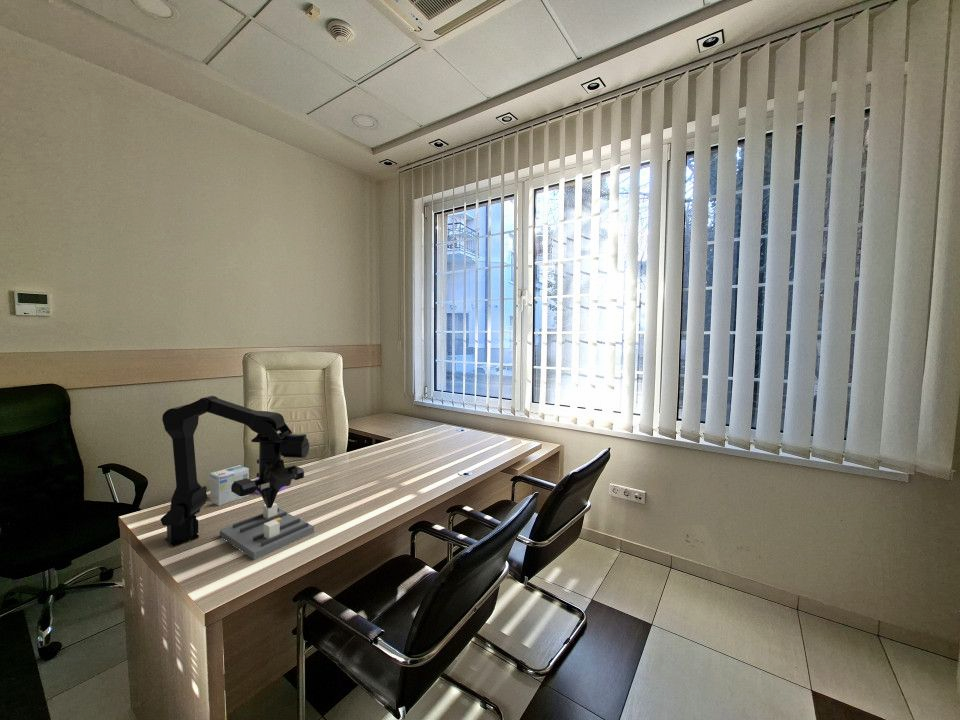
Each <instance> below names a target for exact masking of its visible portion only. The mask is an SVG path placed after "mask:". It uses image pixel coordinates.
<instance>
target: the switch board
mask: <svg viewBox="0 0 960 720" xmlns="http://www.w3.org/2000/svg"><path fill="white" fill-rule="evenodd" d="M272 520H276V521H277V522H279V523H280V534H279V535H276V536H274V537H272V538H269V539H266V538H265V537H264V523H267V522H269V521H272ZM313 533H315V526H314V525H313V524H310V523H309V522H306V521H304V520H302V519H301V518H299V517H296V516H295V515H292V514H291V513H288V512H287V511H284V510H282V509H280V507H277V515H275V516H272V517H270V518H267V519H266V518H264V517H263V512H262V513H260V514H257V515H254V516H251V517H248V518H247V519H243V520H240V521H239V522H236V523H233V524H232V525H230V526H227V527H224V528H222V529H219V537H220V536H221V537H222V538H223V539H222V538H221V537H220V538H221V539H222V540H224V539H225V540H227V541H228V542H229V544H230V543H231V544H232V545H231V544H230V545H231V546H233V545H234V546H235V548H236V547H237V548H238V549H237V548H236V549H237V550H239V549H240V550H241V551H240V550H239V551H240V552H242V551H243V552H244V553H243V552H242V553H243V554H245V553H246V554H247V555H246V554H245V555H246V556H248V557H249V558H251V559H252V560H253V561H255V560H257V559H259V558H262V557H264V556H266V555H268V554H271V553H272V552H275V551H276V550H279V549H281V548H283V547H285V546H288V545H289V544H292V543H294V542H296V541H299V540H301V539H303V538H306V537H308V536H309V535H312V534H313ZM225 540H224V541H225ZM227 541H226V542H227ZM228 542H227V543H228ZM234 546H233V547H234Z"/></svg>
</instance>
